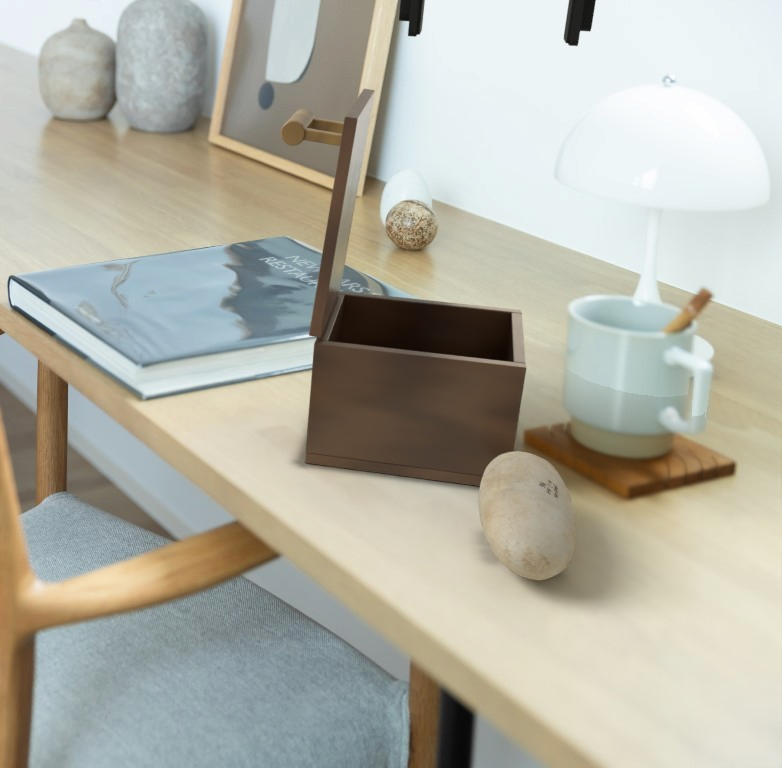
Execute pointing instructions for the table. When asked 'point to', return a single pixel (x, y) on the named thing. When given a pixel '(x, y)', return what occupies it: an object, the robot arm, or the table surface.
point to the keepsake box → (415, 387)
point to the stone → (527, 515)
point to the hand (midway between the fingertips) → (491, 38)
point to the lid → (334, 191)
